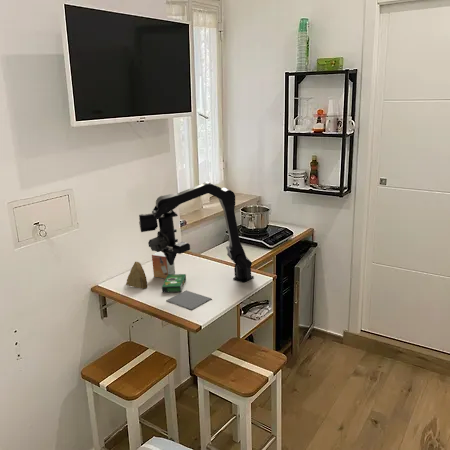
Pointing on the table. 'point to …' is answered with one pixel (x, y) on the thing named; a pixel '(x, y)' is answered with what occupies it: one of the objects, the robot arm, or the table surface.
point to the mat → (188, 300)
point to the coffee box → (174, 283)
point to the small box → (161, 265)
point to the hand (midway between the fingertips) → (171, 264)
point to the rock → (137, 277)
